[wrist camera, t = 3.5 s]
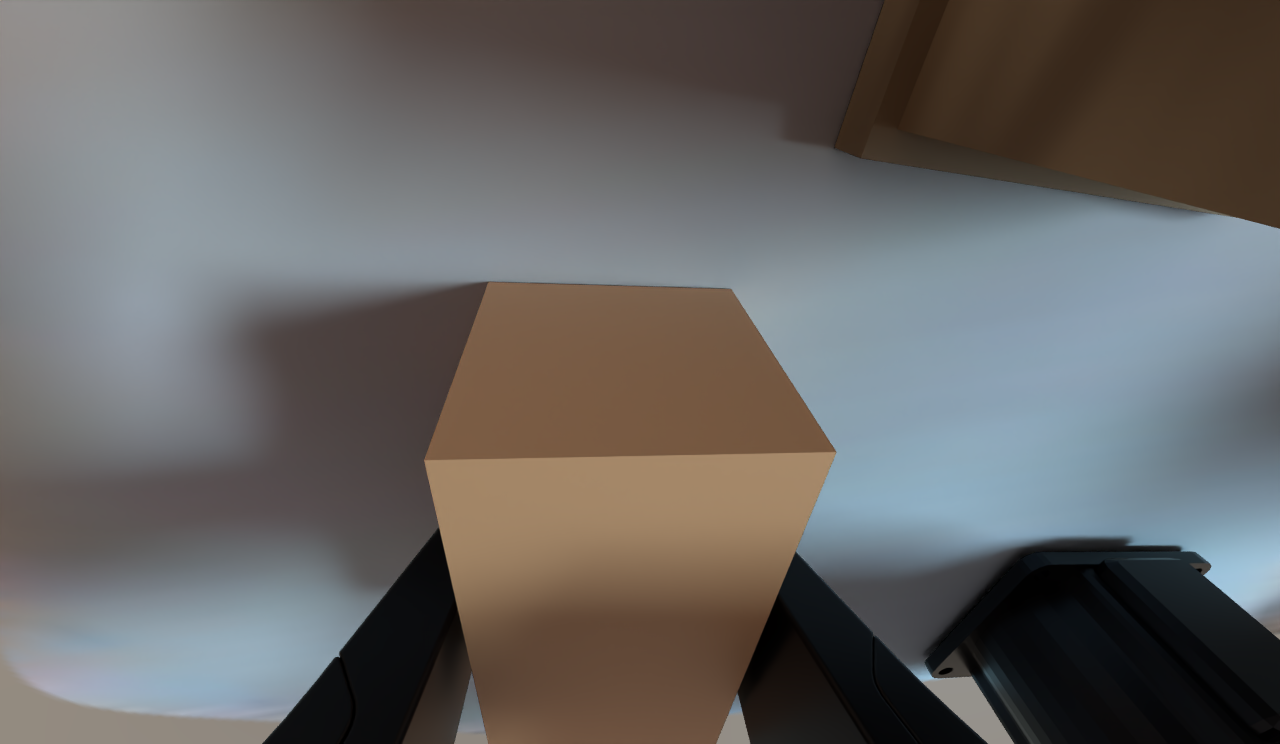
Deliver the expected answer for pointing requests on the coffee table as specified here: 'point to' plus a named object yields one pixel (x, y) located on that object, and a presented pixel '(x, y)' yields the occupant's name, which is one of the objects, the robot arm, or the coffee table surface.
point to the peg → (618, 507)
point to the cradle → (1081, 97)
